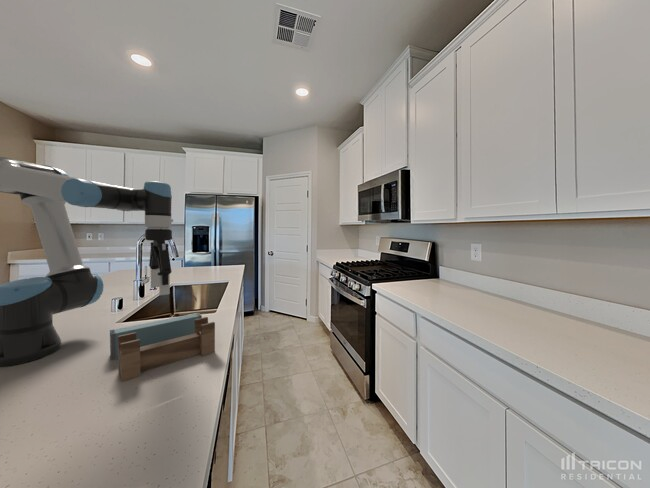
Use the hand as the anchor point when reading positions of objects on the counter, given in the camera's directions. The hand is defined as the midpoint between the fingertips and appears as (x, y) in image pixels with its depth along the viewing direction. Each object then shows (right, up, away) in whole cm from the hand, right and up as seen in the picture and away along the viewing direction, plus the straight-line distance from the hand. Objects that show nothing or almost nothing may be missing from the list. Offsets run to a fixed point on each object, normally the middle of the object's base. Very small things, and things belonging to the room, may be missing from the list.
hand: (159, 290), depth 86 cm
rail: (-1, -19, +1) cm, 19 cm away
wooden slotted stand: (+9, -20, -9) cm, 24 cm away
